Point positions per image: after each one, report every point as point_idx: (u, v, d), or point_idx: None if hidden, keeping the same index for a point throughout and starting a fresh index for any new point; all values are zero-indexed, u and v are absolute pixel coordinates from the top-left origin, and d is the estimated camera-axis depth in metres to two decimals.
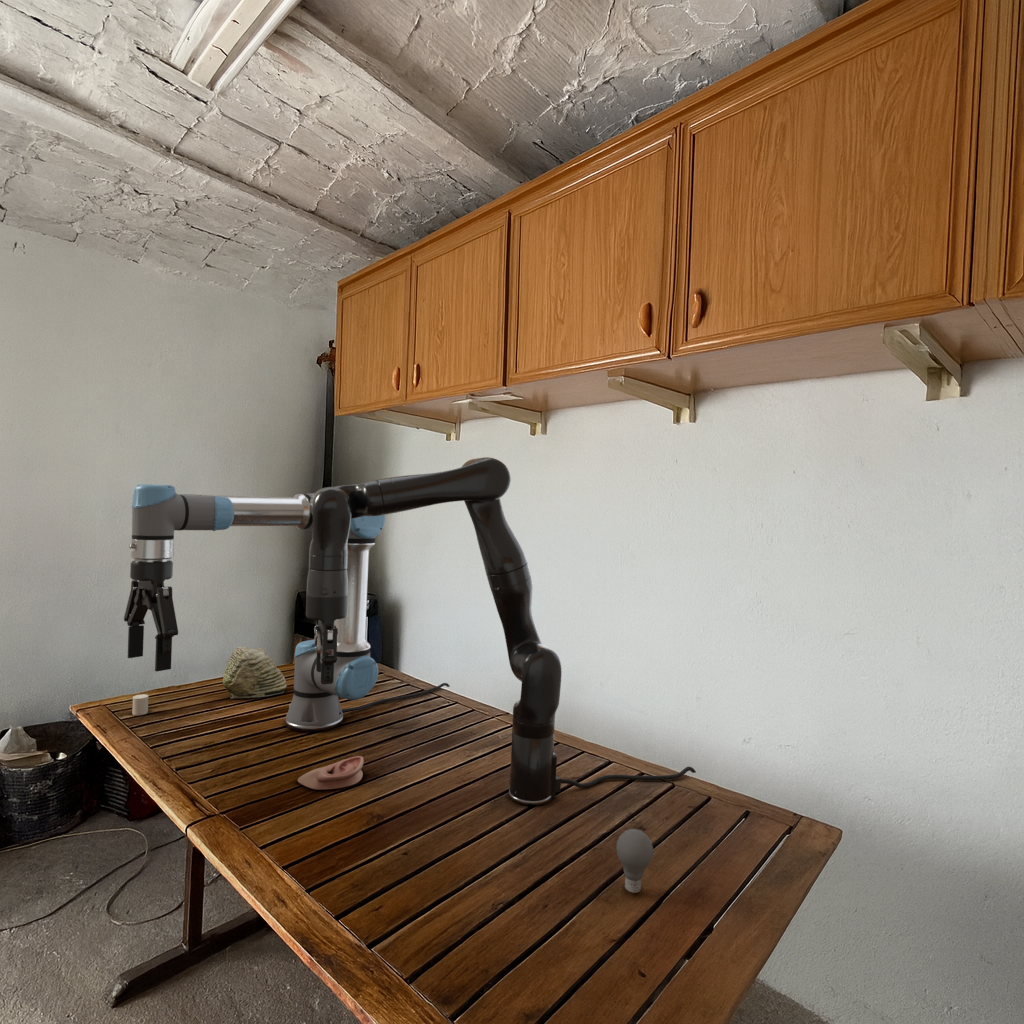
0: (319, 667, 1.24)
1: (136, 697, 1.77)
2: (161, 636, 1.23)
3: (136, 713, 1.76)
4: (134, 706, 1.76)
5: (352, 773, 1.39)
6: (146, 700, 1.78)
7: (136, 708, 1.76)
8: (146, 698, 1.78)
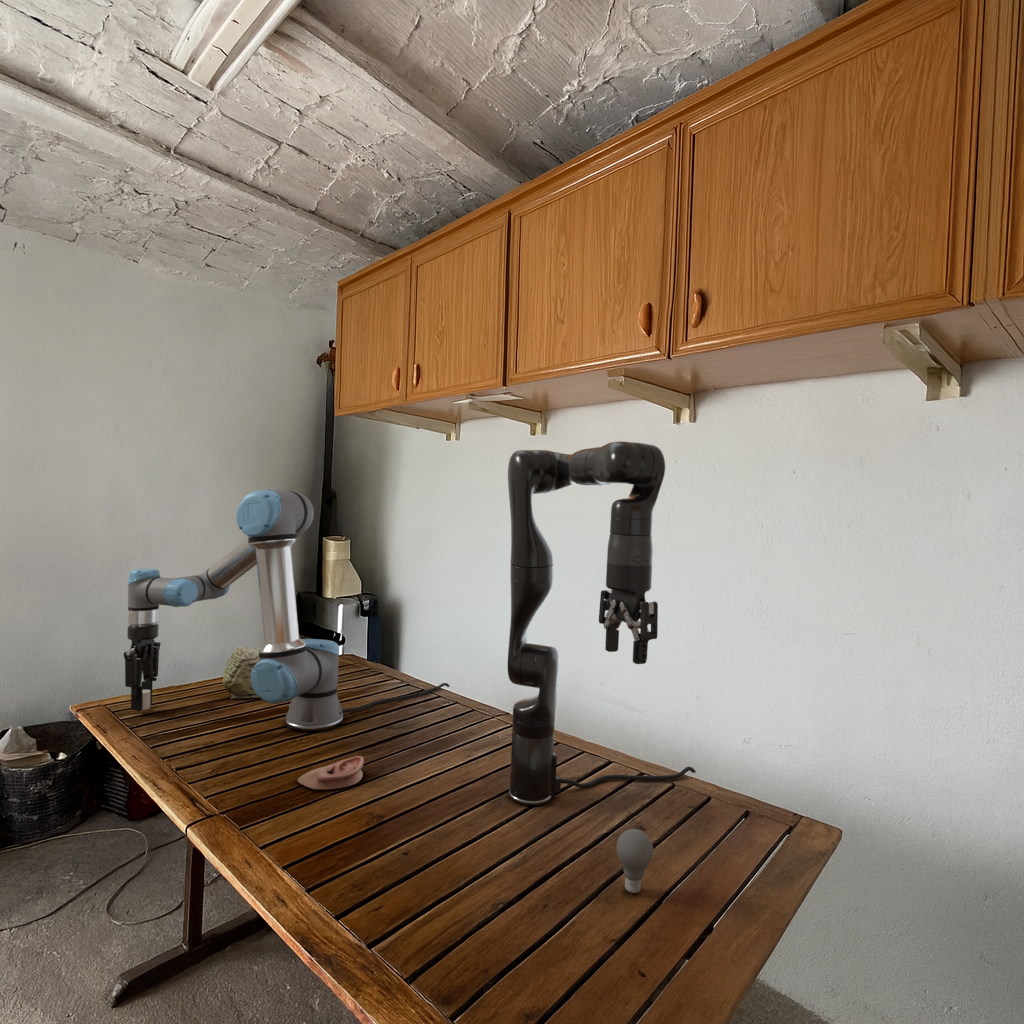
0: (610, 646, 1.10)
1: None
2: (130, 686, 1.74)
3: None
4: None
5: (352, 773, 1.39)
6: (148, 695, 1.77)
7: None
8: (148, 693, 1.77)
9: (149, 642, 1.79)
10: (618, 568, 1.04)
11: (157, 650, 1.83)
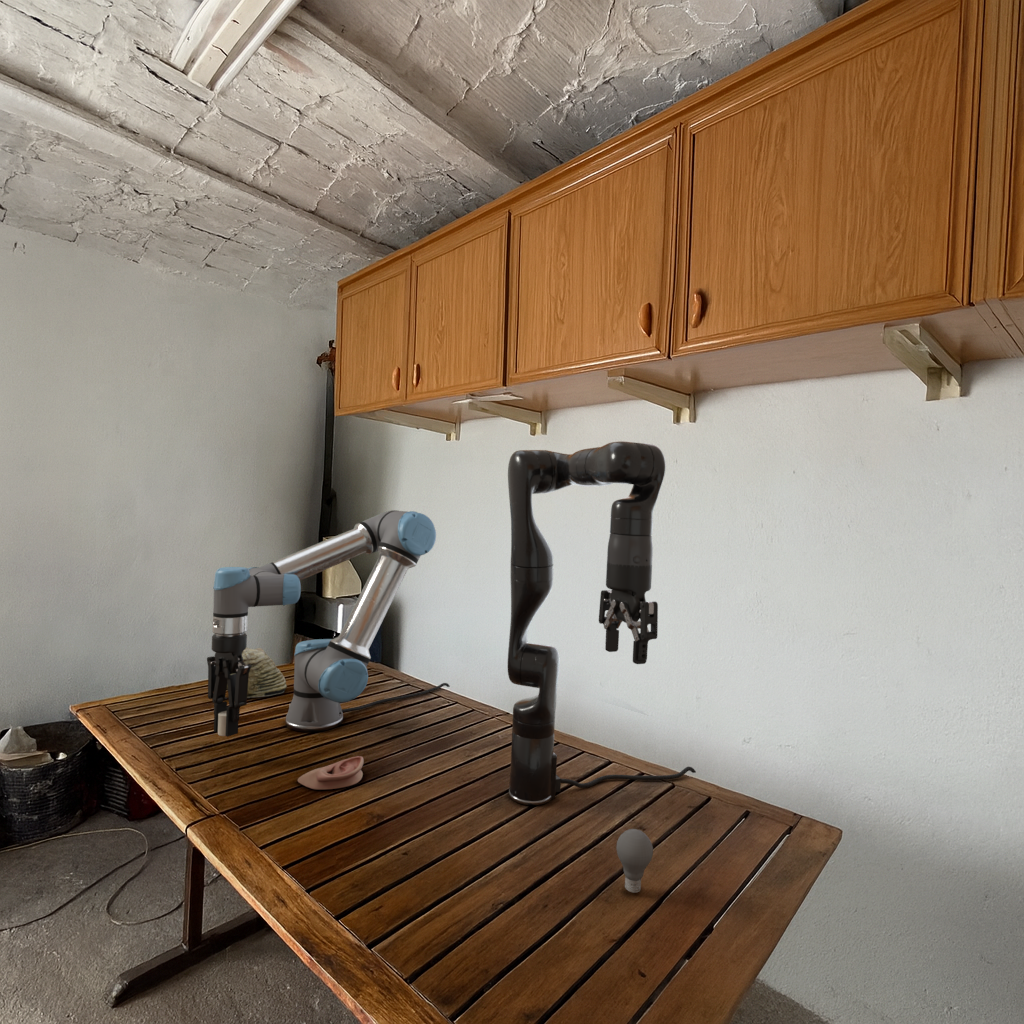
0: (610, 646, 1.10)
1: None
2: (232, 708, 1.46)
3: None
4: None
5: (352, 773, 1.39)
6: None
7: None
8: None
9: None
10: (618, 568, 1.04)
11: None
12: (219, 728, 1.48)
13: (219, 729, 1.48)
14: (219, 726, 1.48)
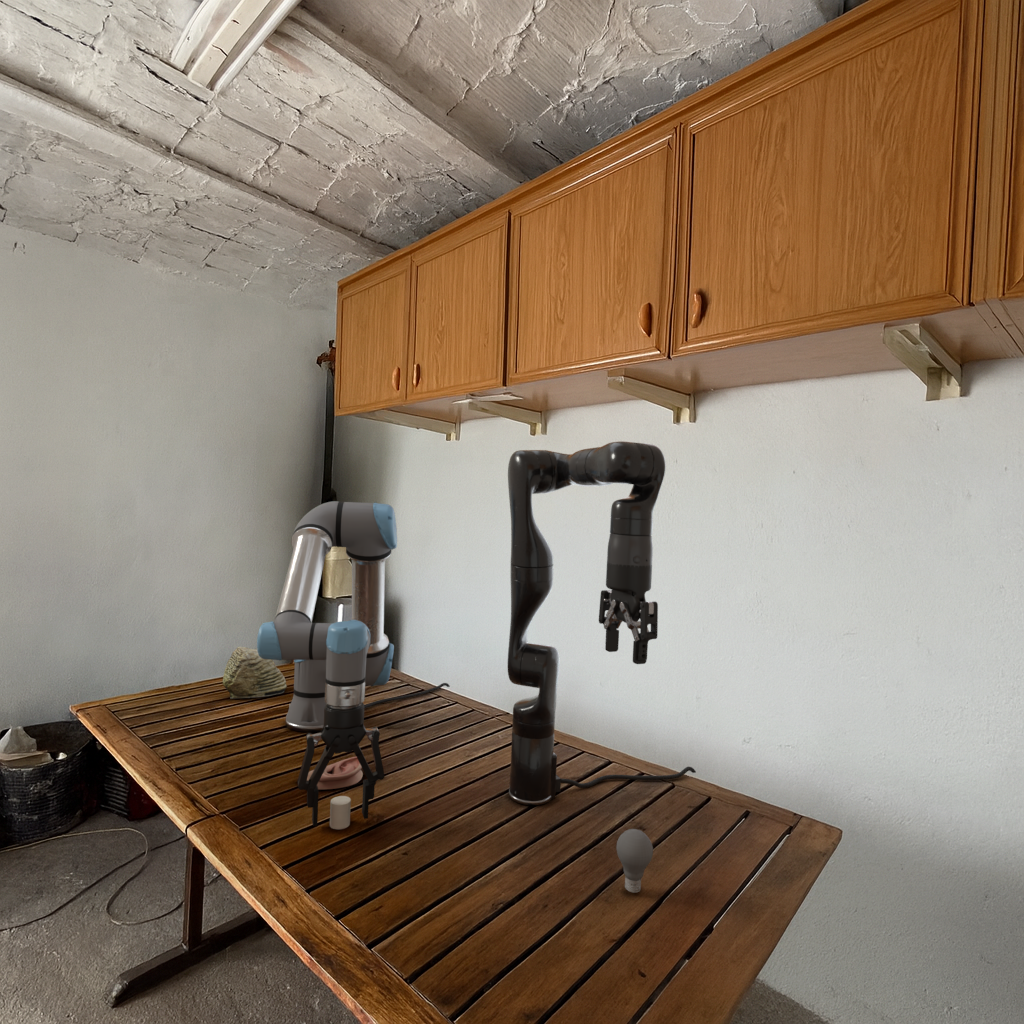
0: (610, 646, 1.10)
1: (346, 800, 1.23)
2: None
3: None
4: None
5: (352, 773, 1.39)
6: None
7: None
8: None
9: None
10: (618, 568, 1.04)
11: None
12: (341, 820, 1.21)
13: (341, 821, 1.21)
14: (341, 818, 1.21)
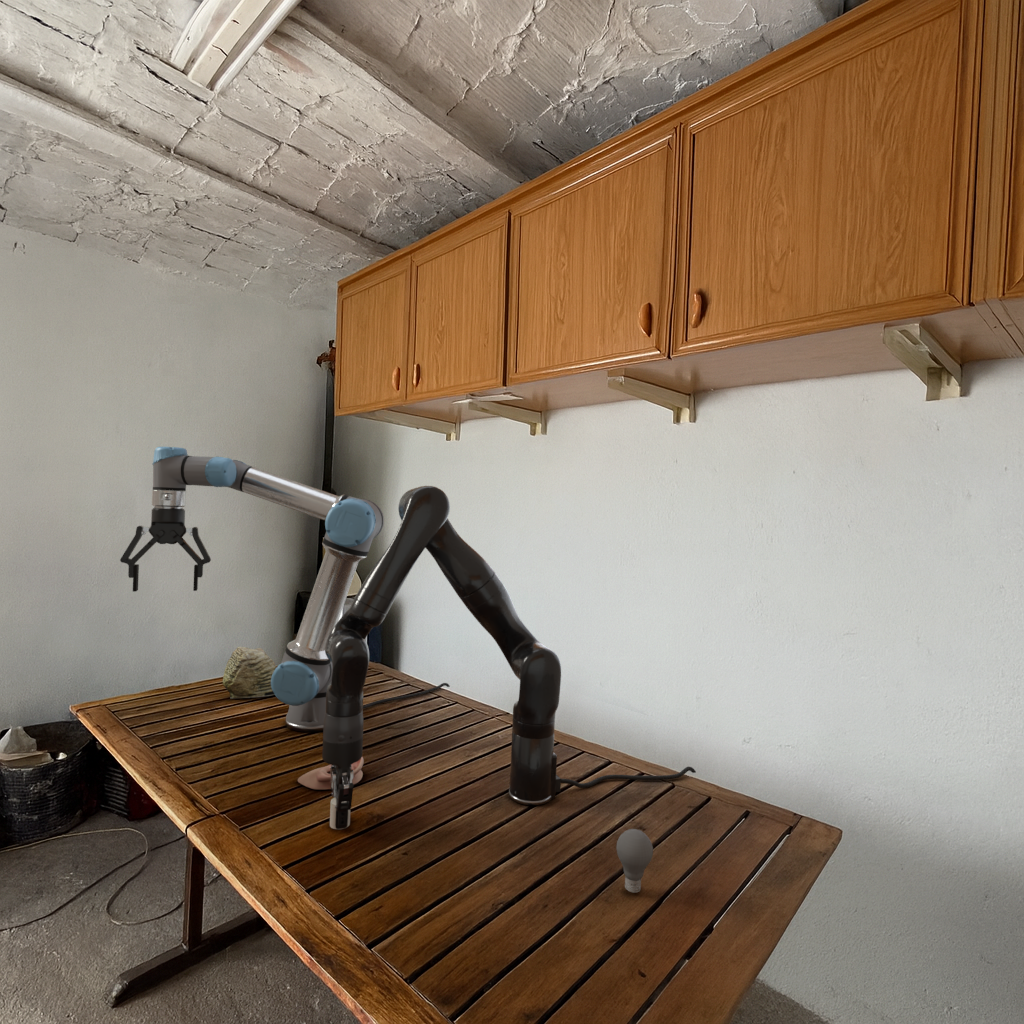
0: None
1: None
2: (202, 563, 1.64)
3: None
4: None
5: None
6: None
7: None
8: None
9: None
10: (326, 744, 1.20)
11: None
12: None
13: None
14: None
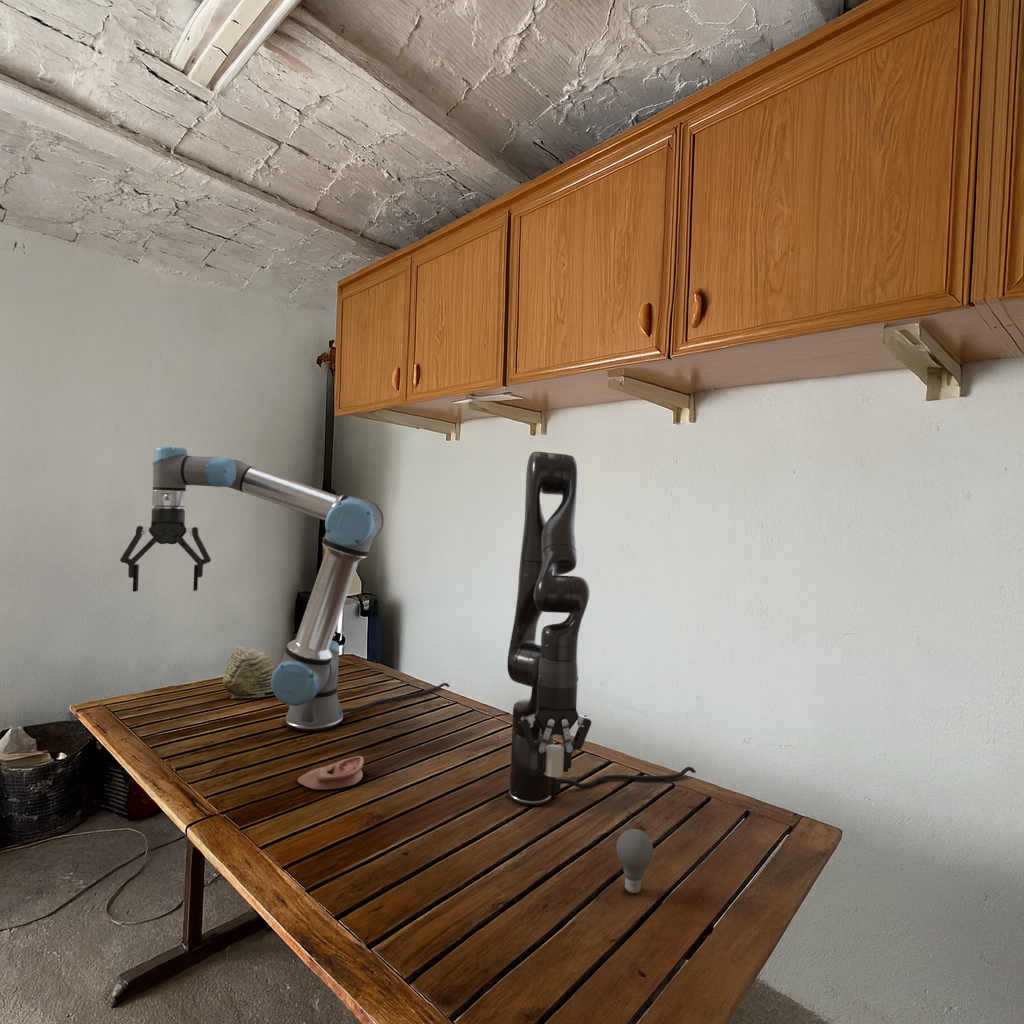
0: None
1: (556, 746, 1.21)
2: (202, 563, 1.64)
3: None
4: None
5: (352, 773, 1.39)
6: None
7: None
8: None
9: None
10: (570, 691, 1.17)
11: None
12: None
13: None
14: None
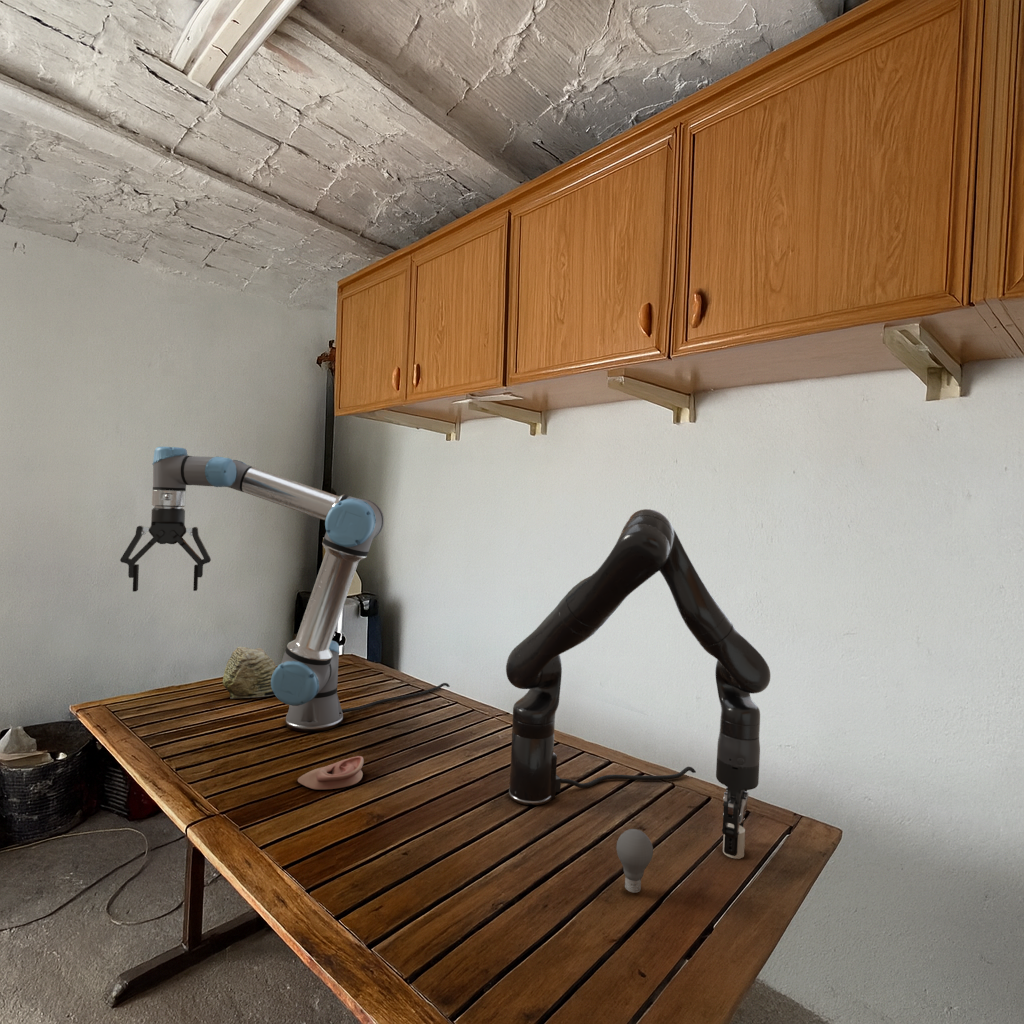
0: None
1: (729, 825, 1.20)
2: (202, 563, 1.64)
3: (723, 847, 1.20)
4: None
5: (352, 773, 1.39)
6: None
7: (723, 839, 1.20)
8: None
9: None
10: None
11: None
12: None
13: None
14: None
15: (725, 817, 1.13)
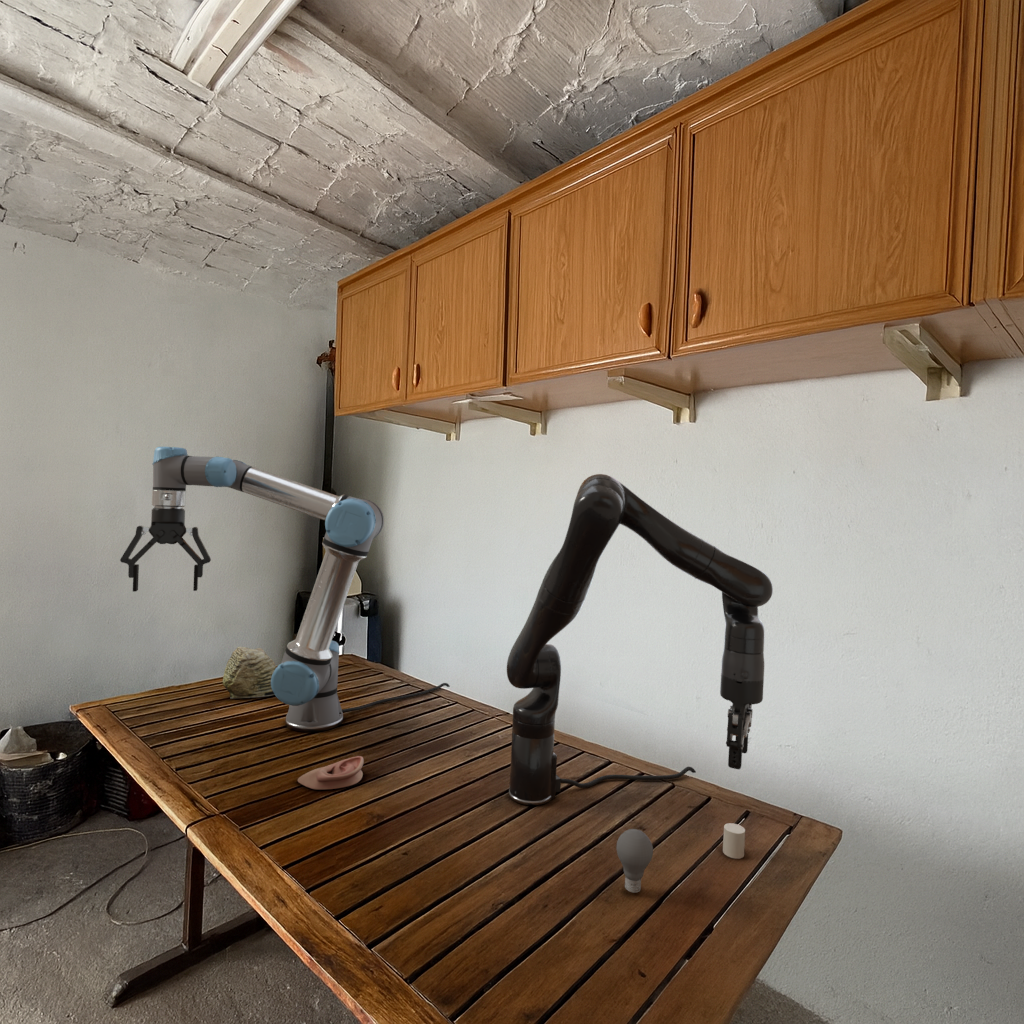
0: None
1: (729, 825, 1.20)
2: (202, 563, 1.64)
3: (723, 847, 1.20)
4: None
5: (352, 773, 1.39)
6: (731, 837, 1.17)
7: (723, 839, 1.20)
8: (731, 834, 1.17)
9: None
10: None
11: None
12: None
13: None
14: None
15: (729, 728, 1.13)
